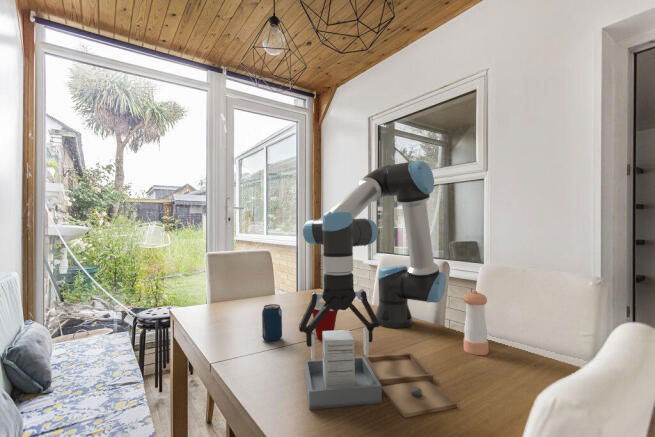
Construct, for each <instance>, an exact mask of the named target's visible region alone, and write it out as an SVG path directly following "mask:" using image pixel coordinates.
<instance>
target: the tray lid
mask: <svg viewBox="0 0 655 437" xmlns="http://www.w3.org/2000/svg"><path fill="white" fill-rule="evenodd" d="M382 394H383V395H384V396H385V397H386V398H387V399H388V400H389V402H390V403H391V404H392V405H393V407H395V409H396V410H397V411H398V412H399V413H400V414H401V416H403V418H404V419H405V418H409V417H410V418H411V417H414V416H420V415H425V414H429V413H430V414H431V413H435V412H442V411H446V410H451V409H455V408H457V407H458V403H456V402H455V401H454V400H453V399H451V398H450V396H448V395H446V394H445V393H444V392H443V391H442V390H440V389H439V388H438V387H437V386H435V384H434V383H433V382H429V381H428V380H419V381H413V382H407V383H401V384H394V385H388V386H382Z"/></svg>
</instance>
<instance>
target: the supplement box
mask: <svg viewBox="0 0 655 437" xmlns="http://www.w3.org/2000/svg"><path fill="white" fill-rule="evenodd" d="M322 337H323V340H322V359H323V380H324V384H325V389H326V388H338V387H351V386H355V357H356V356H355V339H354V337H353V335H352V333H351V331H350V329H339V330H335V329H334V331H322Z"/></svg>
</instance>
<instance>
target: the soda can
mask: <svg viewBox="0 0 655 437" xmlns="http://www.w3.org/2000/svg"><path fill="white" fill-rule="evenodd" d="M282 313H283V312H282V308H281V305H280V304H275V303H274V304H267V305H266V304H265V305H264V306H263V309H262V312H261V325H262V326H261V327H262V328H261V329H262V330H261V334H262V335H261V338H262V340H264V342H265V343H268V344H269V343H271V344H274V343H278V342H279V341H280V340H281V339H282V337H283V318H282V316H283V314H282Z"/></svg>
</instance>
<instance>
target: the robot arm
mask: <svg viewBox="0 0 655 437" xmlns="http://www.w3.org/2000/svg"><path fill="white" fill-rule="evenodd" d="M434 189H435V178H434V174H433V171H432V169H431V167H430V165H428V163H427V162H425V161H422V160H421V161H420V160H419V161H418V160H417V161H408V162H406V161H405V162H402V163H395V164H387V165H383V166H380V167H378V168H376V169H374V170H373V171H371V172H370V173H367V174H366V175H365V176H364V177H363V178H362V179H360V180H359V181H358V183H357V186H356V187H355V188H354V189H352V191H351V192H349V193H348V194H347V195H346V196H344V197H343V198H342V199H341V200H340V201H339V202H337V203H336V204H335V205H334V206H333V207H331V208H330V209H329V210H328V211H326V212H324V213H323V215H322V216H321V217H320V218H318V219H314V218H313V219H309V220H307V221H306V222H305V223H304V225H303V228H302V236H303V239H304V240H305V242H306V243H308V244H310V245H316V246H321V245H323V246H322V249H323V252H322V254H323V272H324V274H323V291H322V293H320V292H316V291H312V292H311V295H310V302H309V304H308V305H307V308H306V310H305V312H304V315H303V316H302V319H301V321H300V323H299V325H298V330H299V332H300V333H305V336H306V338H305V339H306V346H307V348H310V357H311V360H312V361H315V360H316V345H315V344H316V343H315V342H316V340H315V339H316V338H315V336H316V333H315V328H316V326H317V325H318V324H319V323H320V321H321V320H322V319H323V317H324V316H325V315H326V314H327V313H328V312H329V311H330V309H332V310H333V311H337V310H338V311H340V310H341V311H346V310H348V309H350V311H352V313H354V314H355V316H356V317H357V318H358V319H359V321H361V323H362V324H363V325H364V326H365V327H363V328H362V329H363V331H362V333H363V334H362V336H363V340H362V341H363V354H364V356H366V357H369V356H370V343H373V340H374V339H373V336H374V334H373V331H374V329H375V328H379V327H380V326H381V327H385V328H390V329H391V328H393V329H394V328H395V329H401V328H402V329H403V328H407V327H410V326H412V325H413V317H412V313H411V309H410V307H409V303H408V302H409V301H408V300H410V301H418V302H423V303H425V302H426V303H435V304H437V303H439V302H440V301H441V300H442V299H443V297H444V295H445V291H446V287H447V286H446V285H447V276H446V274H445V273H444V272H442V271H440V269H439V268H440V266H439V265H438V264H437V263H435V262H434V255H433V254H434V252H433V247H432V246H433V245H432V239H431V238H432V237H431V230H430V224H429V223H430V222H429V214H428V206H427V202H428V201H429V199H430V194H432V193H433V192H434ZM395 196H396V202H397V203H398V204H399V205H401V206H402V212H403V213H402V214H403V221H404V222H403V223H404V226H405V227H404V228H405V234H406V240H407V248H408V254H409V262H410V265H409V266H407V265H391V266H384V267H381V268H380V269H379V270H378V278H377V280H378V305H377V309H376V312H374V310H373V308H372V307H371V305H370V303H369V301H368V296H367V292H366V291H365V290H364V289H359V290H357V291H355V288H354V284H355V283H354V274H353V271H354V255H353V254H354V253H353V252H354V251H353V249H354V247H362V246H364V247H365V246H369V245H371V244H374V243H375V242H376V240H377V238H378V236H379V229H378V226H377V224H376V222H375V221H373V220H372V219H369V218H365V217H364V218H357V217H358V216H359V215H360V214H361V213H362V212H363V211H364V210H365V209H367V207H368V206H370V204H371V203H372V202H376V201H378V200H379V199H380V198H383V197H384V198H385V197H395ZM356 297H357V299H358V300H360V301H361V303H362V305H363V307H364V309H365V311H366V313H367V315H368V316H369V318H370V320H371V321H370V322H369V321H368V319H366V317H365V316H364V315H363V314H362V313H361V311H360V310H359V309H358V308H357V307H356V306H355V304H353V302H354V300H355V299H356ZM321 299H322V300H323V302H325V304H324V305H323V306H322V308H321V310H320V311H319V312H318V313H317V315H316V316H315V317H314V318H312V320H311V321H310V319H311V317H312V316H313V314H312V312H313V310H314V308H315V306H316V302H320V300H321ZM309 321H310V322H309Z"/></svg>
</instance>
